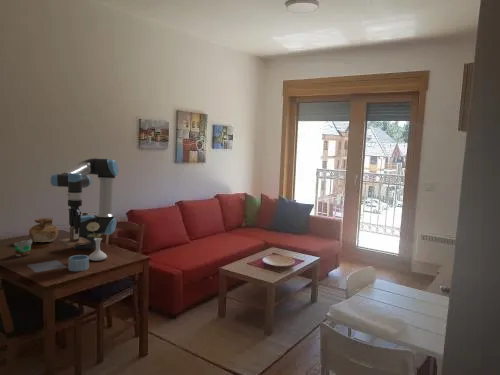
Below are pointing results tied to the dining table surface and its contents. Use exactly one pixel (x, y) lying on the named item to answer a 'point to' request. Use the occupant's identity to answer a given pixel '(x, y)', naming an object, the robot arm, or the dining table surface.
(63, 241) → the walnut lid
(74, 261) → the ceramic bowl
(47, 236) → the clay pot
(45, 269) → the rubber mat
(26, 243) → the food container
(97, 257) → the flower in vase
